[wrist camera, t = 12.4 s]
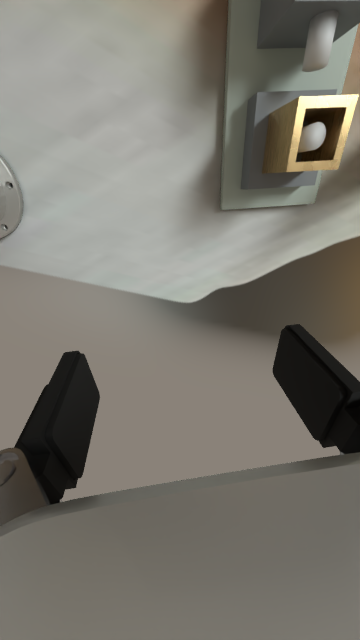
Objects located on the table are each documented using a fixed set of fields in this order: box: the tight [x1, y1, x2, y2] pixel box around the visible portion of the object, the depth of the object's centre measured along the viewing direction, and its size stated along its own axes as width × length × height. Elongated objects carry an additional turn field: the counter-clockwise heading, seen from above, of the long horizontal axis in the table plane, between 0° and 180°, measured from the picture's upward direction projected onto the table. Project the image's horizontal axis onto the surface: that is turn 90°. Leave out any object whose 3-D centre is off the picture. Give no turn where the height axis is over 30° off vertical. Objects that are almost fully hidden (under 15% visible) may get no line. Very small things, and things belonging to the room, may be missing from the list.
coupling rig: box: [220, 0, 360, 210], centre depth 24 cm, size 14×23×9 cm, turn 3°
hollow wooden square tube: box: [262, 95, 358, 174], centre depth 24 cm, size 6×6×6 cm
